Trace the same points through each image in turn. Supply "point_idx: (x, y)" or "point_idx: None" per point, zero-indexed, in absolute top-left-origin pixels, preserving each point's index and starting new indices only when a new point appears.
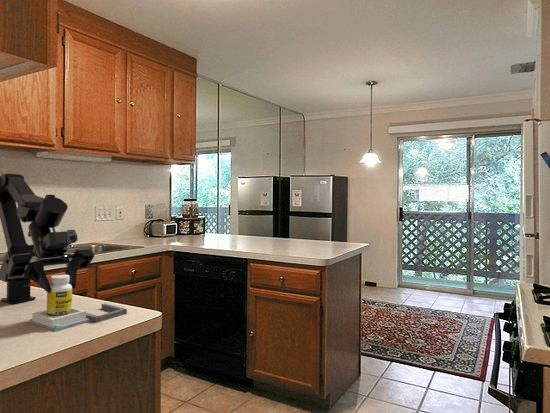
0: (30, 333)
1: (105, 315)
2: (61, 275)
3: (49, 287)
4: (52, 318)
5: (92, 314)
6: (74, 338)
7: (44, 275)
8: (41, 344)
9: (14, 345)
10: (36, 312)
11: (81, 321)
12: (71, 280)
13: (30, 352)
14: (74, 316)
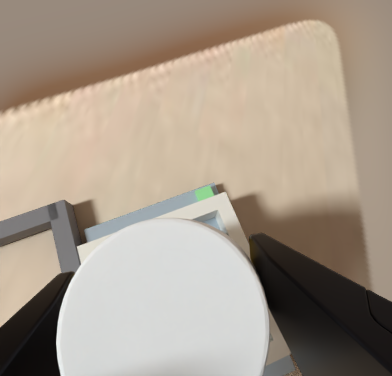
0: (287, 209)
1: (21, 214)
2: (140, 364)
3: (264, 240)
4: (224, 209)
5: (58, 252)
6: (178, 98)
7: (362, 316)
8: (262, 100)
9: (326, 129)
10: (278, 353)
11: (118, 218)
12: (52, 348)
13: (288, 65)
14: None
